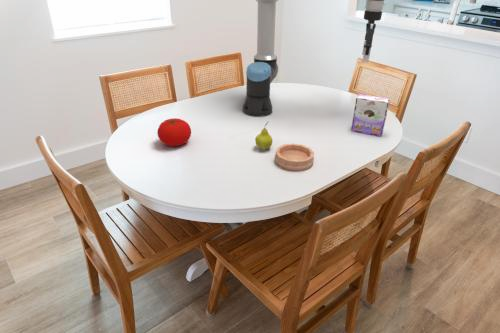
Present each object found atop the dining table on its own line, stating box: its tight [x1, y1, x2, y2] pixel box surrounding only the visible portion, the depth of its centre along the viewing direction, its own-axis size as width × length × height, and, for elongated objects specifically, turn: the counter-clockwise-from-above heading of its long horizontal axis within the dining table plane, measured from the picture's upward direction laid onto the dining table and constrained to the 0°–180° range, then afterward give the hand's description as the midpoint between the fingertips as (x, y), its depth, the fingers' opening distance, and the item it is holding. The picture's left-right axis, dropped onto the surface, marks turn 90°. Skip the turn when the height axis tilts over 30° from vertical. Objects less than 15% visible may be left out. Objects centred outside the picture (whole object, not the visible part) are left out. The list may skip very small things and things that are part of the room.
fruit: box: [255, 121, 273, 150], centre depth 153 cm, size 7×7×12 cm
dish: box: [274, 143, 315, 172], centre depth 146 cm, size 15×15×4 cm
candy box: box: [350, 93, 390, 137], centre depth 168 cm, size 14×6×16 cm, turn 65°
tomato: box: [156, 117, 192, 147], centre depth 156 cm, size 14×13×10 cm
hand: (365, 58), depth 177 cm, fingers open, 13 cm apart
